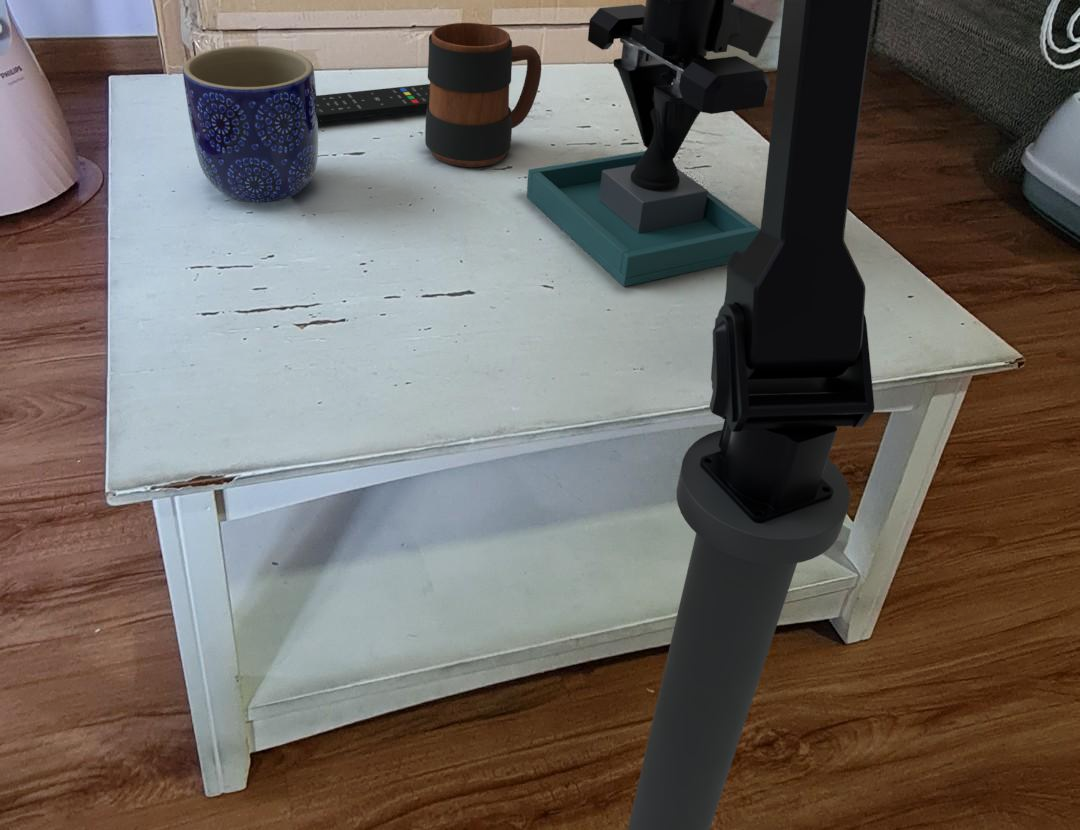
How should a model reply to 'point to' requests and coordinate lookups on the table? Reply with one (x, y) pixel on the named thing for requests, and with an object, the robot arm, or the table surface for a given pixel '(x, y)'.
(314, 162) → the planter
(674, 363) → the table surface
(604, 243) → the tray
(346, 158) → the table surface
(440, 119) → the mug
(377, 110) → the remote control
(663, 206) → the block
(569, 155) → the table surface
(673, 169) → the chess piece
